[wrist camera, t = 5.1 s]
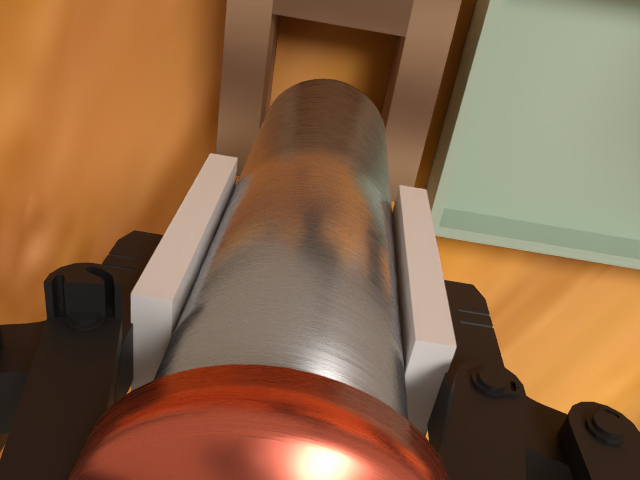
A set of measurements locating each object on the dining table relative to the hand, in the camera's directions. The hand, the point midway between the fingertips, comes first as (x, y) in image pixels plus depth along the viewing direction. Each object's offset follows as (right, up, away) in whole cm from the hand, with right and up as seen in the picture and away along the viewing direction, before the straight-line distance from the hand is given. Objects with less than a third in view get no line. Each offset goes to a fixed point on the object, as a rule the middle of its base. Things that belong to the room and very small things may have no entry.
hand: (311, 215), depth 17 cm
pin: (0, +3, +5) cm, 6 cm away
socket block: (+1, +8, +15) cm, 17 cm away
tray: (+16, +6, +15) cm, 23 cm away
